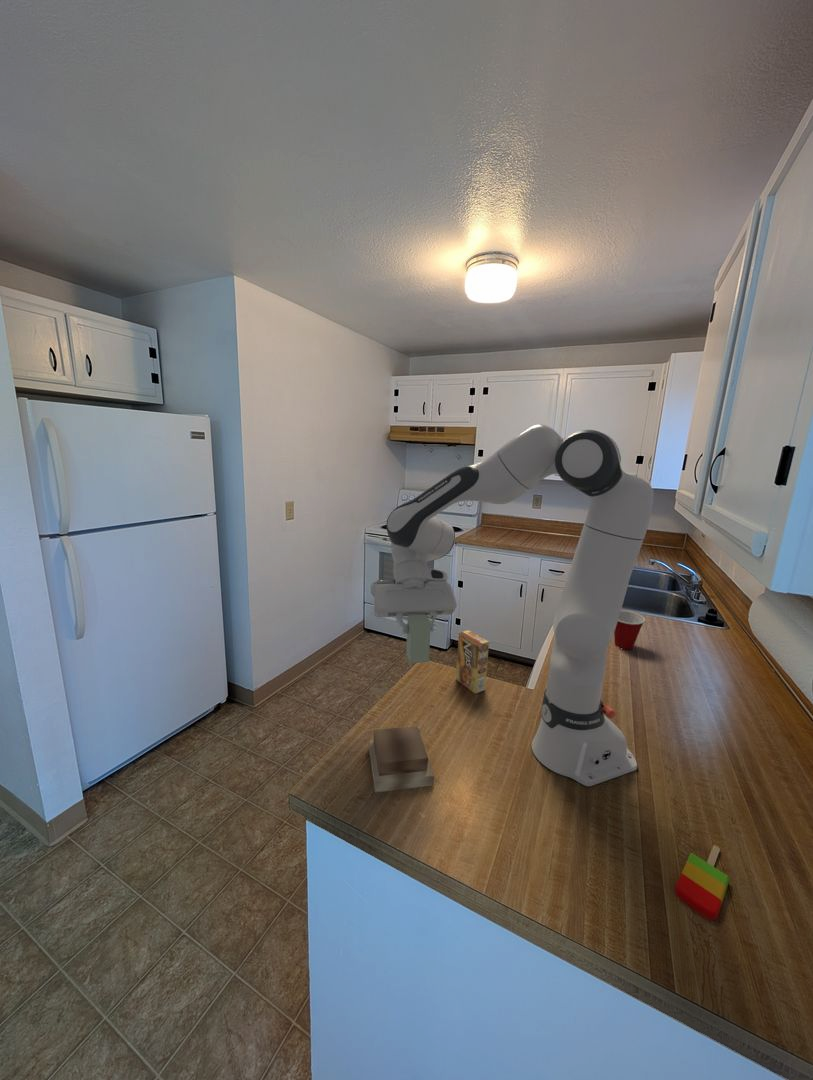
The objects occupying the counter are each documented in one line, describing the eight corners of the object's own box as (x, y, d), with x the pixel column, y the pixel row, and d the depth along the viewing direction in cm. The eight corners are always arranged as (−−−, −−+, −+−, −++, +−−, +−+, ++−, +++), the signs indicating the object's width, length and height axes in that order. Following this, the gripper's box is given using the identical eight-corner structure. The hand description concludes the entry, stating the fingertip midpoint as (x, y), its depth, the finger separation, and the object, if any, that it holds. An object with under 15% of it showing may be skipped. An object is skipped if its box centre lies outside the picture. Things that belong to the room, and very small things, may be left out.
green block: (424, 652, 99) (426, 614, 97) (428, 662, 95) (430, 621, 92) (406, 653, 98) (407, 614, 96) (409, 663, 94) (411, 622, 92)
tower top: (416, 737, 93) (417, 726, 93) (427, 770, 84) (428, 758, 83) (373, 741, 91) (373, 729, 91) (379, 776, 82) (379, 763, 81)
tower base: (420, 746, 95) (420, 735, 94) (433, 788, 83) (434, 775, 83) (368, 752, 92) (369, 740, 92) (374, 795, 81) (375, 782, 80)
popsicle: (672, 896, 64) (674, 887, 64) (697, 839, 74) (699, 831, 74) (714, 927, 60) (716, 917, 60) (735, 862, 70) (737, 854, 70)
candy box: (485, 690, 117) (490, 641, 114) (474, 694, 115) (479, 644, 112) (465, 675, 124) (469, 629, 121) (454, 679, 122) (458, 632, 119)
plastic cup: (600, 643, 150) (605, 613, 148) (617, 637, 156) (622, 608, 153) (629, 656, 141) (635, 624, 139) (646, 649, 147) (651, 618, 145)
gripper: (371, 574, 98) (374, 629, 91) (453, 572, 102) (462, 625, 94) (369, 586, 103) (372, 639, 96) (447, 584, 107) (456, 634, 100)
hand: (418, 632), depth 95 cm, fingers closed on green block, 4 cm apart
